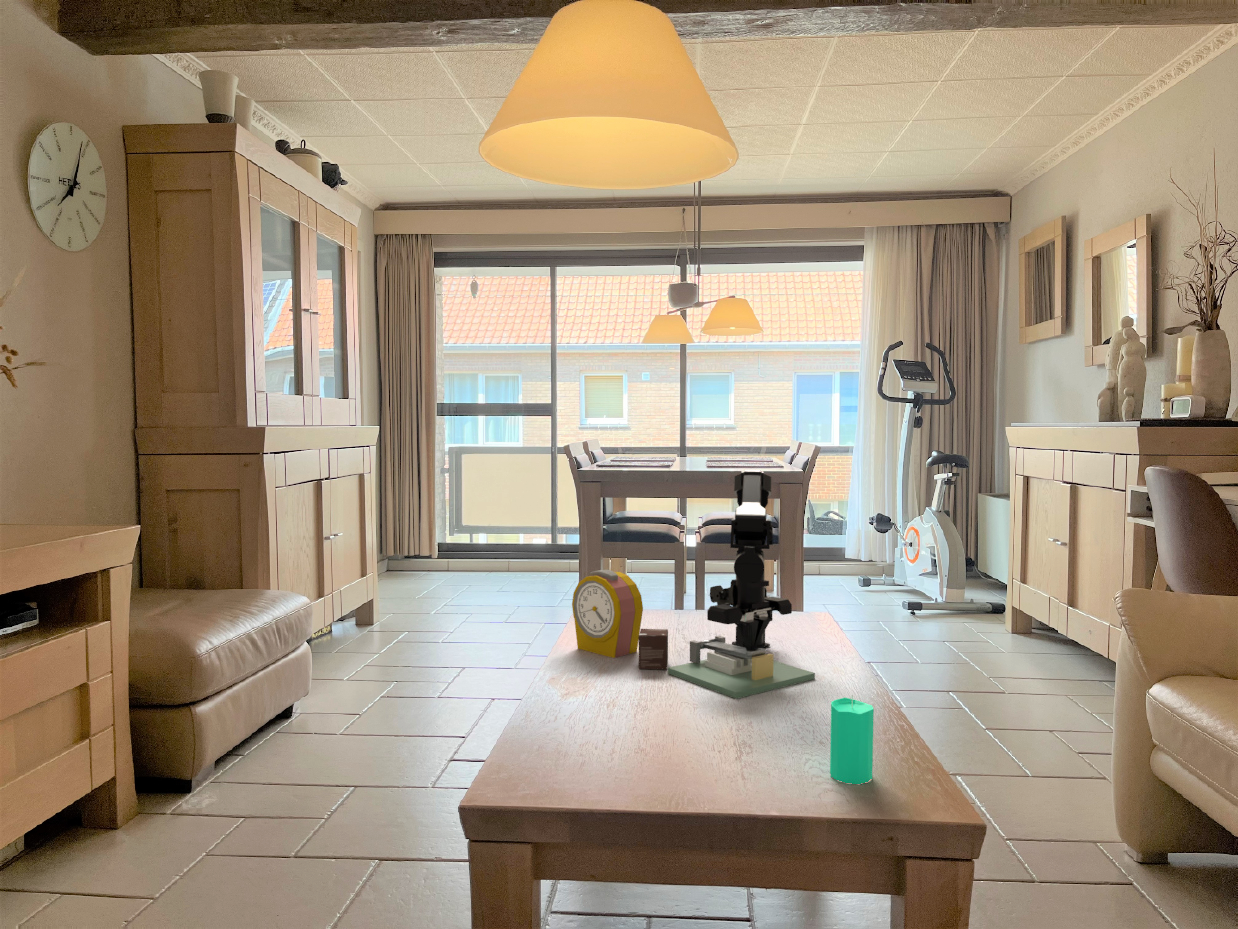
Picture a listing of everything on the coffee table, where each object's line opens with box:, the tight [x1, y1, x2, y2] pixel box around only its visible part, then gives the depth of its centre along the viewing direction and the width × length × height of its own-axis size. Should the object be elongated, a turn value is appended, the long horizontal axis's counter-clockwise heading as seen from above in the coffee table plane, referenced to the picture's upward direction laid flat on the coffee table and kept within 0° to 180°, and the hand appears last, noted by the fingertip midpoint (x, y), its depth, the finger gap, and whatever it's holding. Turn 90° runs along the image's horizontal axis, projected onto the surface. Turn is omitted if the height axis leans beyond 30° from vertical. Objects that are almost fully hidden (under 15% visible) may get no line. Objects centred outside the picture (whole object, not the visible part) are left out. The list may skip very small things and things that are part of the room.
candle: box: [829, 694, 875, 784], centre depth 121 cm, size 6×6×12 cm
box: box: [638, 628, 669, 671], centre depth 178 cm, size 6×6×7 cm
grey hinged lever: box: [699, 638, 767, 659], centre depth 173 cm, size 5×16×2 cm, turn 36°
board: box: [667, 635, 816, 700], centre depth 171 cm, size 22×21×6 cm
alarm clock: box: [571, 569, 644, 659], centre depth 190 cm, size 15×8×18 cm, turn 47°
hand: (750, 652), depth 168 cm, fingers closed, pressing on grey hinged lever
